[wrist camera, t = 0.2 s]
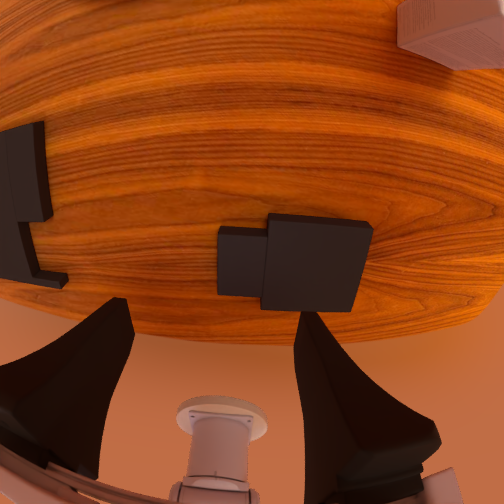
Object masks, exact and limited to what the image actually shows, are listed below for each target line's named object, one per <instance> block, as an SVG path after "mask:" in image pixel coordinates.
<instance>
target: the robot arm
mask: <svg viewBox="0 0 504 504" xmlns="http://www.w3.org/2000/svg"><path fill="white" fill-rule="evenodd" d="M134 336H135V332H134V328H133V324H132V320H131V316H130V312H129V308H128V304H127V299H125V298H117V297H113V298H112V299H111V300H109V301H108V302H106V303H105V304H104V305H102V306H101V307H100V308H99V309H97V310H96V311H95V312H94V313H92V314H91V315H90V316H88V317H87V318H86V319H84V320H83V321H82V322H81V323H79V324H78V325H77V326H75V327H74V328H72V329H71V330H70V331H68V332H67V333H65V334H64V335H63V336H61V337H60V338H58V339H57V340H55V341H54V342H52V343H50V344H48V345H47V346H45V347H43V348H41V349H40V350H38V351H36V352H33V353H31V354H29V355H27V356H25V357H23V358H21V359H18V360H16V361H13V362H10V363H8V364H5V365H2V366H0V492H1V493H2V494H4V495H5V496H6V497H7V498H9V499H10V500H11V501H13V502H14V503H15V504H100V503H98V502H96V501H94V500H91V499H89V498H87V497H85V496H82V495H80V494H79V493H78V492H77V491H79V492H81V493H83V494H86V495H88V496H91V497H94V498H96V499H99V500H102V501H105V502H108V503H111V504H260V498H259V494H258V493H257V492H256V491H255V489H249V483H247V473H248V471H247V470H248V446H249V444H250V438H251V432H252V425H253V416H251V415H237V414H223V413H211V412H201V411H193V410H191V411H189V413H188V415H189V419H190V423H191V428H192V432H193V435H192V441H191V448H190V454H189V461H188V468H187V475H186V477H185V476H184V477H183V482H177V483H176V484H174V485H173V486H172V488H171V490H170V494H169V500H164V499H160V498H155V497H150V496H146V495H142V494H138V493H134V492H130V491H127V490H123V489H119V488H116V487H113V486H110V485H107V484H104V483H101V482H98V481H95V480H96V479H98V472H99V471H98V470H99V458H100V449H101V442H102V436H103V430H104V425H105V420H106V416H107V412H108V408H109V404H110V401H111V398H112V395H113V392H114V389H115V387H116V385H117V383H118V380H119V378H120V376H121V373H122V371H123V368H124V366H125V364H126V361H127V359H128V357H129V354H130V351H131V347H132V344H133V340H134ZM294 364H295V373H296V378H297V384H298V390H299V395H300V400H301V407H302V412H303V420H304V438H305V494H304V504H463V500H462V496H461V493H460V489H459V486H458V483H457V479H456V476H455V473H454V469H453V468H452V467H450V468H448V469H445V470H443V471H440V472H438V473H435V474H433V475H430V476H427V477H425V478H423V479H421V476H420V473H422V472H423V466H422V462H424V461H425V460H426V459H428V458H429V457H430V456H431V455H432V454H434V453H435V452H436V451H437V450H438V449H439V447H440V445H441V444H442V442H441V439H440V436H439V433H438V430H437V428H436V425H435V423H434V421H433V420H431V419H428V418H427V417H425V416H423V415H421V414H419V413H417V412H415V411H413V410H412V409H410V408H408V407H407V406H406V405H404V404H402V403H401V402H399V401H398V400H396V399H395V398H394V397H392V396H391V395H390V394H388V393H387V392H386V391H384V390H383V389H382V388H381V387H380V386H378V385H377V384H376V383H375V382H374V381H373V380H371V379H370V378H369V377H368V376H367V375H366V374H365V373H364V372H363V371H362V370H361V369H360V368H359V367H358V366H357V365H356V364H355V362H354V361H353V360H352V359H351V358H350V357H349V356H348V354H347V353H346V352H345V351H344V349H343V348H342V347H341V346H340V344H339V343H338V342H337V340H336V339H335V338H334V336H333V335H332V334H331V332H330V331H329V329H328V328H327V327H326V325H325V324H324V322H323V321H322V319H321V318H320V316H319V315H318V314H317V312H308V311H301V314H300V319H299V324H298V328H297V333H296V338H295V342H294Z"/></svg>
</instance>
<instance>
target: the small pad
mask: <svg viewBox="0 0 504 504" xmlns="http://www.w3.org/2000/svg"><path fill="white" fill-rule="evenodd" d="M373 230H374V229H373V228H372V227H371V225H370V224H369V223H368V222H367V221H358V220H348V219H337V218H326V217H314V216H302V215H289V214H276V213H269V214H268V223H267V229H262V228H246V227H229V226H220V228H219V232H218V258H217V292H218V295H227V296H243V297H260V300H261V310H275V311H308V312H351V310H352V307H353V303H354V300H355V297H356V294H357V290H358V287H359V283H360V280H361V276H362V273H363V269H364V266H365V262H366V258H367V254H368V250H369V246H370V242H371V238H372V234H373Z"/></svg>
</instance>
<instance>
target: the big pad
mask: <svg viewBox="0 0 504 504" xmlns="http://www.w3.org/2000/svg"><path fill="white" fill-rule="evenodd" d="M52 216H53V211H52V205H51V199H50V192H49V185H48V176H47V167H46V156H45V140H44V121H40V122H34V123H30V124H26V125H23V126H19V127H16V128H12V129H9V130H6V131H2V132H0V278H3V279H8V280H13V281H18V282H23V283H29V284H34V285H40V286H45V287H51V288H57V289H62V288H63V287H64V285H65V284H66V283H67V282H68V277H67V274H66V273H59V272H51V271H44V270H40V268H39V265H38V261H37V258H36V254H35V250H34V246H33V242H32V238H31V234H30V230H29V225H28V222H45V221H46V220H48V219H49V218H50V217H52Z"/></svg>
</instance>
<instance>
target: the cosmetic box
mask: <svg viewBox="0 0 504 504" xmlns="http://www.w3.org/2000/svg"><path fill="white" fill-rule="evenodd" d="M397 46H398V47H399V48H402V49H405V50H408V51H410V52H413V53H416V54H418V55H421V56H423V57H426V58H428V59H430V60H433V61H435V62H437V63H440V64H442V65H444V66H446V67H448V68H450V69H453V70H455V71H457V70H472V69H492V68H504V0H406V1H404V2H402V3H401V4H399V5H398V6H397Z"/></svg>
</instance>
